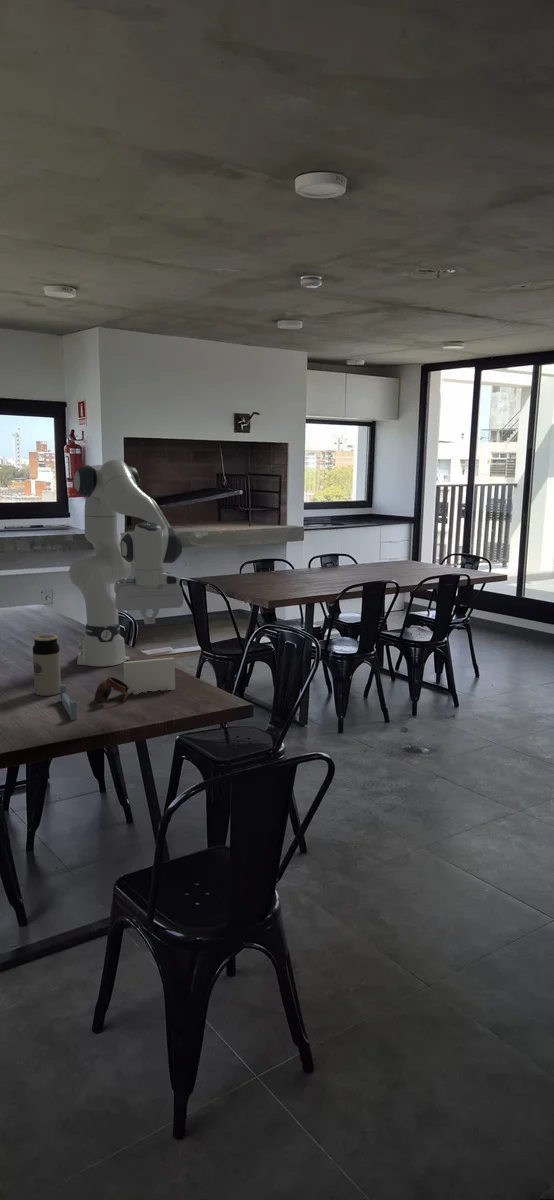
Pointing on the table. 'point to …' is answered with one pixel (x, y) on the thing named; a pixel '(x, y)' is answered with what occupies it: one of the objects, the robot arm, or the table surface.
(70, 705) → the handle
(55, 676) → the travel mug
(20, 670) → the table surface
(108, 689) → the pottery mug
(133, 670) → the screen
